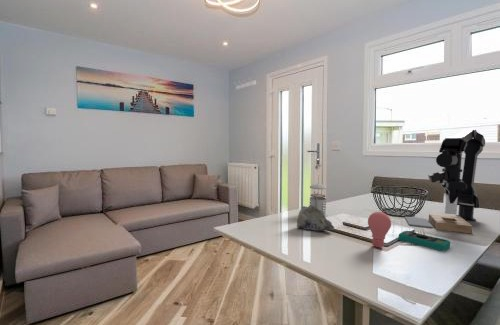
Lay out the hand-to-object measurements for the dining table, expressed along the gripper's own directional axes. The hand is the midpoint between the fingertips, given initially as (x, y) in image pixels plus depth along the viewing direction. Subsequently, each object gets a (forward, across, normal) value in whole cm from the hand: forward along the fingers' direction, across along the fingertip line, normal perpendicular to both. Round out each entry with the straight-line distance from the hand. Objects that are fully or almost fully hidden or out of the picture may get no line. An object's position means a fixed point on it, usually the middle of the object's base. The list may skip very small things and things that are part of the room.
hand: (450, 202), depth 118 cm
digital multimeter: (+11, +30, -14) cm, 35 cm away
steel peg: (+5, 0, 0) cm, 5 cm away
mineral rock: (+11, +32, -52) cm, 62 cm away
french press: (+11, +8, -55) cm, 57 cm away
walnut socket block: (+10, 0, 0) cm, 10 cm away
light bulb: (+11, +41, -29) cm, 51 cm away
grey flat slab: (+10, 0, -12) cm, 16 cm away
